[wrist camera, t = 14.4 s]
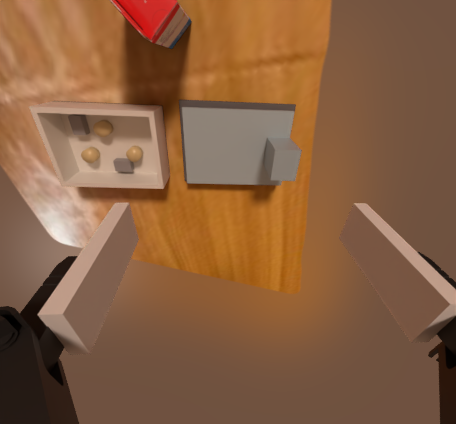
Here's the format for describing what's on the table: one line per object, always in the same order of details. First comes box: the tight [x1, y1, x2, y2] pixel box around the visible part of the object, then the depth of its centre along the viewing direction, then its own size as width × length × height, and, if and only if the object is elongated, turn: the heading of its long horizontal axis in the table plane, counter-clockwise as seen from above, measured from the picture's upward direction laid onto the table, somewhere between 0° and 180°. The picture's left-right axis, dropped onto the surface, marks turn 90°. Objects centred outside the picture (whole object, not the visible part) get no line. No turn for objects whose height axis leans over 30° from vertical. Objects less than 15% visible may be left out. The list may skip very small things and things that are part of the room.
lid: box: [182, 107, 302, 185], centre depth 38 cm, size 19×14×9 cm
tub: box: [29, 101, 170, 189], centre depth 39 cm, size 18×13×6 cm
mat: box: [179, 100, 296, 181], centre depth 42 cm, size 20×15×1 cm
